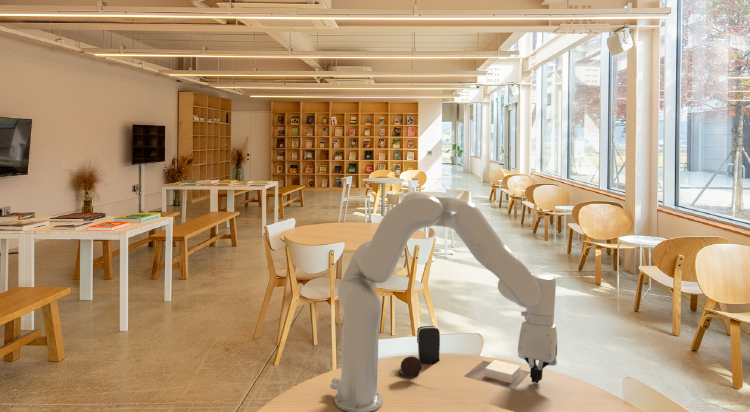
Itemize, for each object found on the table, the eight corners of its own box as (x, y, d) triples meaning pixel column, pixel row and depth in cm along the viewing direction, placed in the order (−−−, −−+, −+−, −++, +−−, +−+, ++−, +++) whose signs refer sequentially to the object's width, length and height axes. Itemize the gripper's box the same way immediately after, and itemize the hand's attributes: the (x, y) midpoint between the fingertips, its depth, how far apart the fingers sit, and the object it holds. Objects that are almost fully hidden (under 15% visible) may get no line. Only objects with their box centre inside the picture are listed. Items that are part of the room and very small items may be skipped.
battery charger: (437, 359, 175) (437, 324, 174) (440, 363, 171) (440, 327, 170) (416, 360, 174) (415, 325, 173) (418, 364, 170) (418, 328, 169)
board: (463, 381, 159) (463, 376, 159) (483, 365, 172) (483, 360, 172) (513, 394, 151) (514, 389, 151) (530, 376, 164) (530, 372, 163)
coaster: (484, 376, 159) (485, 368, 159) (494, 367, 166) (494, 359, 166) (511, 383, 155) (511, 374, 155) (520, 374, 162) (520, 366, 161)
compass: (416, 370, 166) (417, 347, 166) (421, 381, 158) (422, 357, 158) (390, 370, 166) (391, 347, 165) (394, 381, 158) (395, 357, 157)
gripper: (509, 316, 154) (506, 379, 156) (563, 327, 146) (559, 392, 148) (518, 310, 160) (514, 370, 162) (570, 320, 152) (566, 383, 154)
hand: (535, 381), depth 155 cm, fingers closed
